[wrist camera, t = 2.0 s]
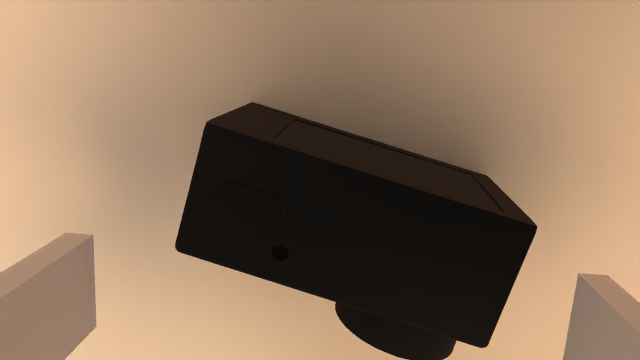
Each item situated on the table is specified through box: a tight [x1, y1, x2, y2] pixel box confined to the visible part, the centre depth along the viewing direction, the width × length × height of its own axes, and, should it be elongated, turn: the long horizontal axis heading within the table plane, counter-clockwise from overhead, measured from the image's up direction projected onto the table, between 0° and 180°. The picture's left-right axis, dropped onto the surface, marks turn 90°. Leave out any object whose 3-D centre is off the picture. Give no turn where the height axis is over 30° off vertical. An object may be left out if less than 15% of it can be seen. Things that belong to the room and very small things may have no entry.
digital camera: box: [175, 102, 537, 360], centre depth 20 cm, size 10×5×7 cm, turn 73°
